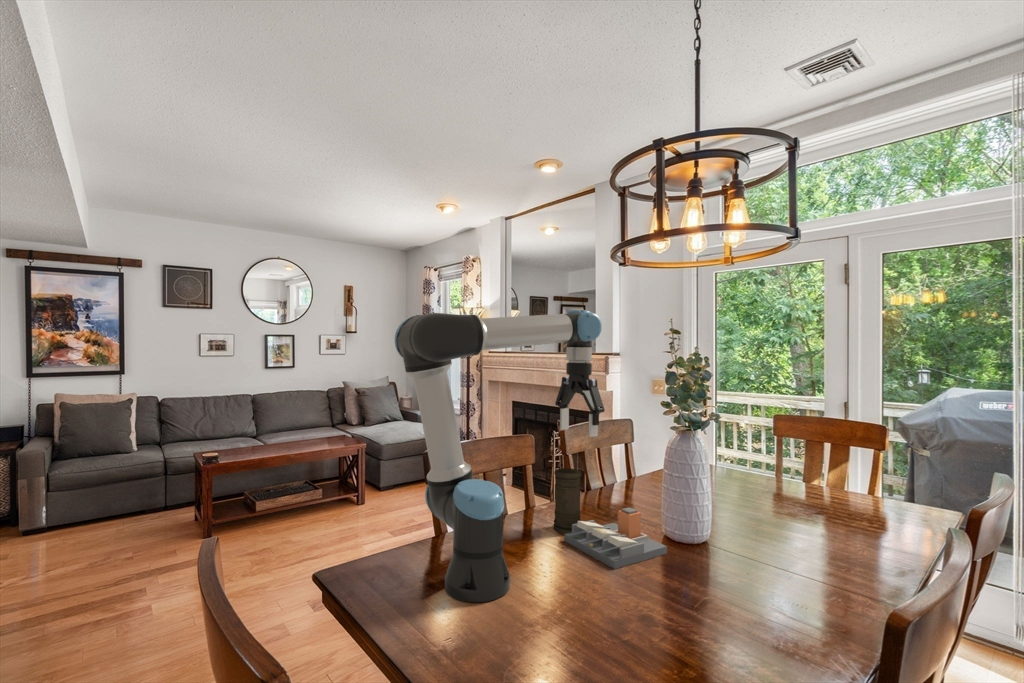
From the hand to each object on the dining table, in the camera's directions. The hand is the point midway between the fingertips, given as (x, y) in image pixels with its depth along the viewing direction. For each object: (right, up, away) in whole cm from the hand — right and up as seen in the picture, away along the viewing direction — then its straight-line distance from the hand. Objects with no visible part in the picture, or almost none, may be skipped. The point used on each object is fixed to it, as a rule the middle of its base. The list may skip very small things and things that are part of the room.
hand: (578, 433), depth 147 cm
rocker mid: (+6, -26, -10) cm, 29 cm away
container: (-3, -31, +5) cm, 31 cm away
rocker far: (+3, -27, -4) cm, 27 cm away
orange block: (+14, -29, -5) cm, 32 cm away
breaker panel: (+9, -31, -8) cm, 33 cm away
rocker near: (+10, -26, -15) cm, 32 cm away
